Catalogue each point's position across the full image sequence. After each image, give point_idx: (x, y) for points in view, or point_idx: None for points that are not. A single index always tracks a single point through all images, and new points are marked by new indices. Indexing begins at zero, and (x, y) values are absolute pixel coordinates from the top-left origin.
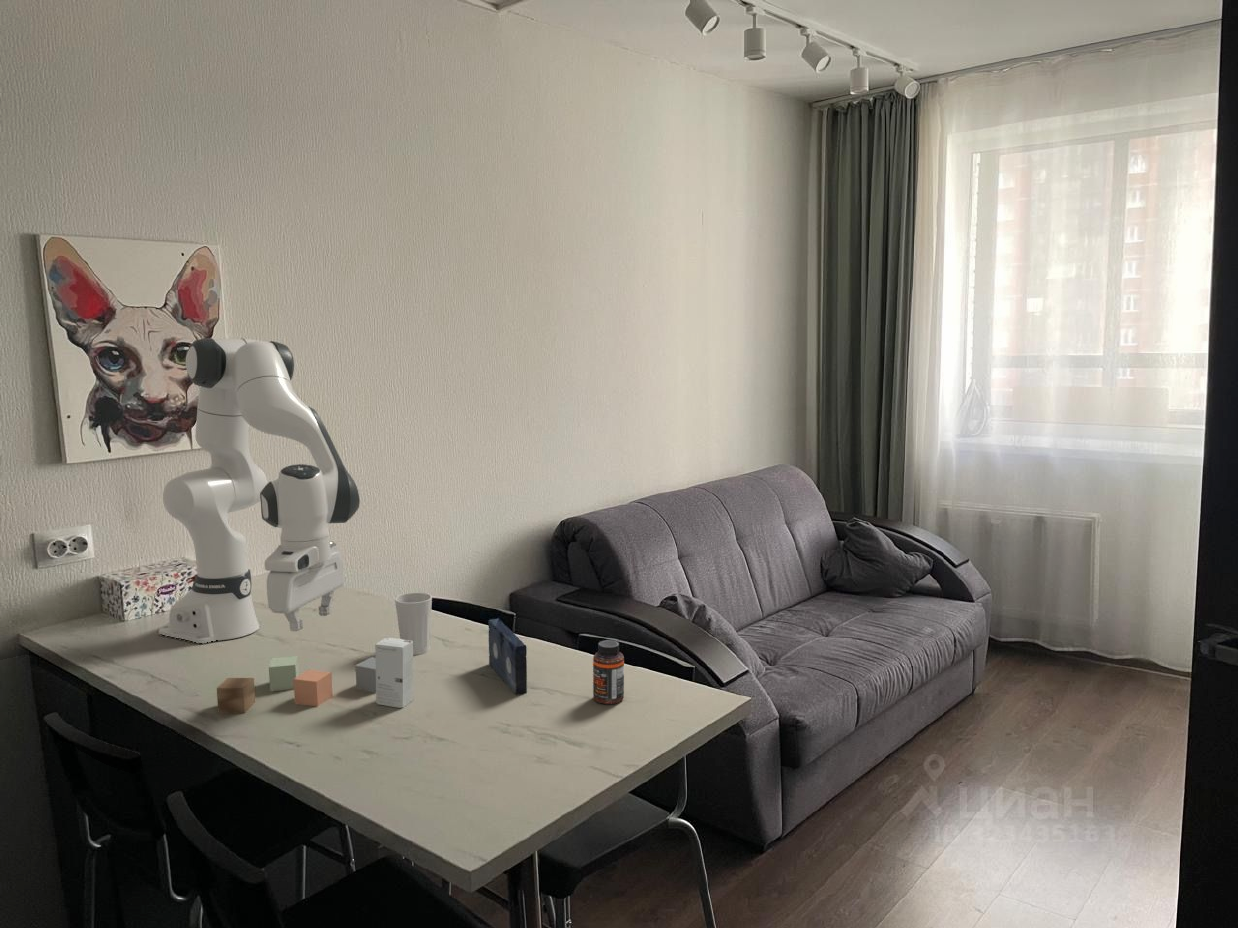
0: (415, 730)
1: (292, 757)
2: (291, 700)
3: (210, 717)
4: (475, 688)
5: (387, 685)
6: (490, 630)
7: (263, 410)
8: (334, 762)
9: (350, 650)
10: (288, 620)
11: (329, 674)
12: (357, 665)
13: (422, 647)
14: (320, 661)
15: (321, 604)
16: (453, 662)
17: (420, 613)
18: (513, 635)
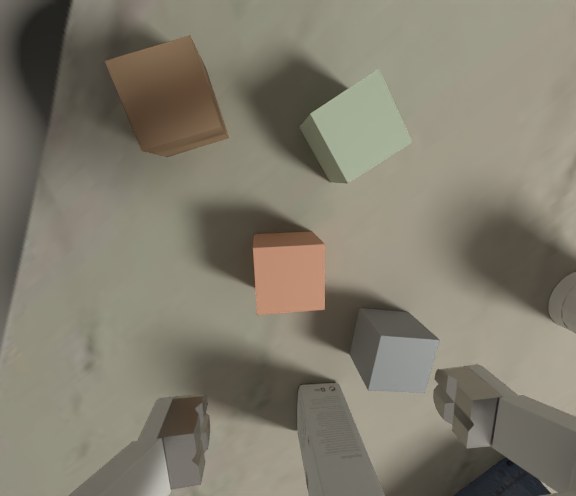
0: (225, 491)
1: (43, 386)
2: (265, 216)
3: (109, 87)
4: (406, 483)
5: (304, 444)
6: None
7: None
8: (66, 455)
9: (569, 159)
10: (120, 454)
11: (315, 308)
12: (380, 341)
13: (570, 330)
14: (494, 129)
15: (505, 406)
16: None
17: None
18: None
